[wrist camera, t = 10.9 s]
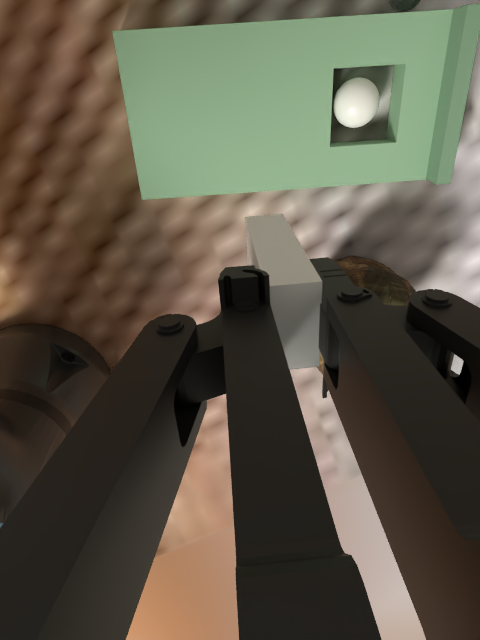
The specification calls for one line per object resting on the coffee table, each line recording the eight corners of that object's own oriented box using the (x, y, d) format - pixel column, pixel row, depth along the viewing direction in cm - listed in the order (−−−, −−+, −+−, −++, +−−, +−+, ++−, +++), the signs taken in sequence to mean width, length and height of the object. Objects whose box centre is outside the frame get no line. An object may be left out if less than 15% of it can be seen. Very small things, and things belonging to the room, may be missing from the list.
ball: (337, 131, 32) (383, 127, 32) (339, 78, 31) (388, 74, 31) (328, 127, 36) (369, 124, 35) (330, 79, 34) (373, 76, 34)
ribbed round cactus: (281, 264, 42) (303, 323, 31) (388, 233, 41) (448, 283, 30) (303, 348, 47) (328, 423, 37) (398, 323, 46) (452, 392, 36)
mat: (145, 193, 37) (138, 205, 34) (118, 34, 31) (105, 27, 28) (426, 173, 38) (450, 183, 34) (452, 13, 32) (485, 3, 28)
